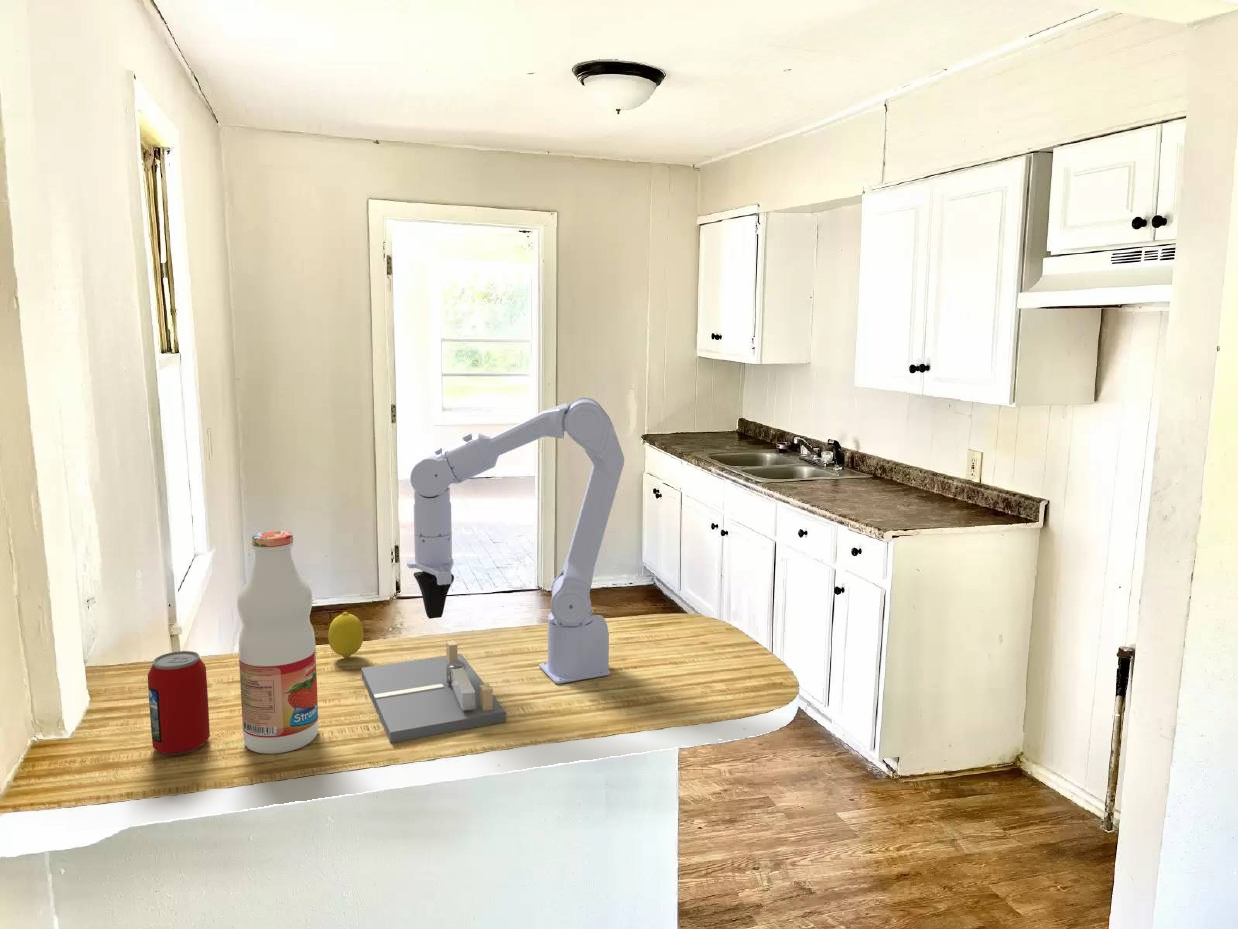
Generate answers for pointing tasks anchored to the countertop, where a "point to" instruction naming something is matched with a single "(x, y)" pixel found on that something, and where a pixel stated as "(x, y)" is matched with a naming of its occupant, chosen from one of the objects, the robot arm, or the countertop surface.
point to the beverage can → (178, 702)
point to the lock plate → (427, 697)
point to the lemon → (345, 635)
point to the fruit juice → (277, 651)
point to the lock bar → (461, 685)
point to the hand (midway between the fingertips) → (434, 616)
